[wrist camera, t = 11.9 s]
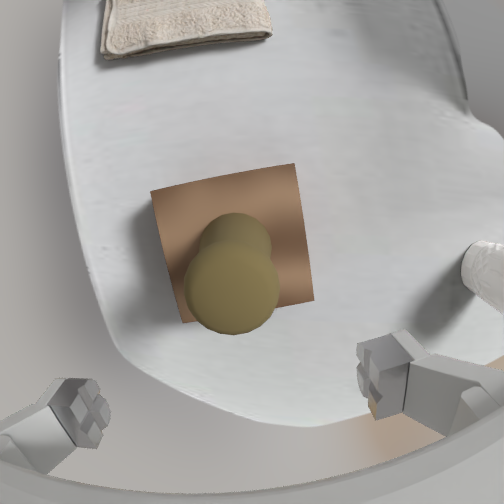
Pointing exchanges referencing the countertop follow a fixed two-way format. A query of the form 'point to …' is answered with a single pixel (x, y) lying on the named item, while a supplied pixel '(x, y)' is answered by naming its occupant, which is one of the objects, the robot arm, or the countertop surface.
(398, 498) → the robot arm
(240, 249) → the olive tapered upright piece
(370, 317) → the countertop surface
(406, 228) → the countertop surface
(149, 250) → the countertop surface
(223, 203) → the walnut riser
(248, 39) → the washcloth
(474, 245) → the white cup
